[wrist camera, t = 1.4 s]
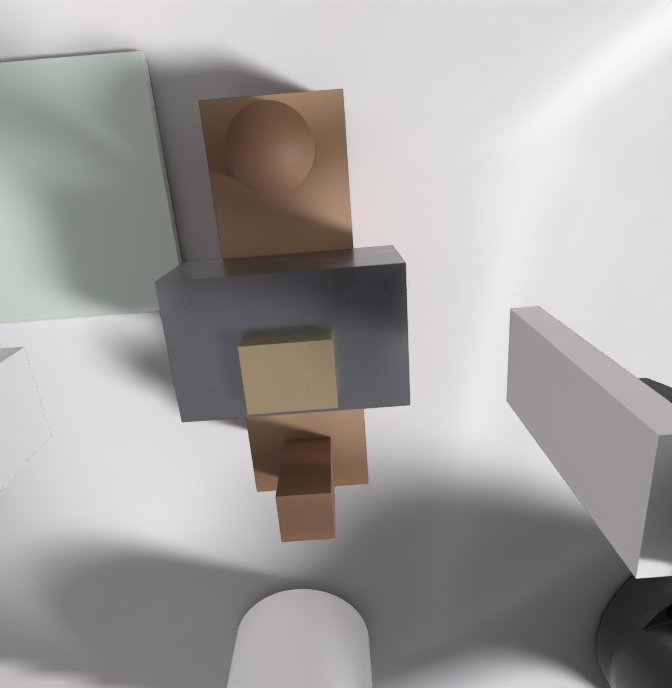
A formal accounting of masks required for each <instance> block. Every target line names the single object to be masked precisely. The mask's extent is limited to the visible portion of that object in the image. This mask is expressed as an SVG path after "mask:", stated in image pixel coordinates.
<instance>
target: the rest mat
mask: <svg viewBox="0 0 672 688" xmlns="http://www.w3.org/2000/svg"><path fill="white" fill-rule="evenodd" d="M181 263H182V258H181V253H180V247H179V241H178V236H177V230H176V224H175V218H174V213H173V207H172V201H171V196H170V190H169V184H168V179H167V173H166V167H165V162H164V156H163V150H162V144H161V139H160V133H159V127H158V122H157V116H156V110H155V105H154V99H153V93H152V87H151V82H150V76H149V70H148V65H147V59H146V53H144V52H142V51H131V52H119V53H107V54H95V55H83V56H71V57H59V58H47V59H35V60H23V61H11V62H0V324H2V323H15V322H28V321H41V320H54V319H67V318H79V317H92V316H105V315H118V314H131V313H144V312H157V311H160V309H159V303H158V298H157V293H156V288H155V283H154V282H156V281H157V280H158V279H160V278H161V277H163V276H164V275H165V274H167V273H168V272H170V271H171V270H172V269H174V268H175V267H177V266H178V265H179V264H181Z"/></svg>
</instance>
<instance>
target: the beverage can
mask: <svg viewBox="0 0 672 688" xmlns="http://www.w3.org/2000/svg"><path fill="white" fill-rule="evenodd" d="M227 688H373V684H372V672H371V660H370V648H369V637H368V631H367V627H366V625H365V622H364V620H363V619H362V617H361V616H360V614H359V613H358V612H357V611H356V610H355V609H354V608H353V607H352V606H351V605H350V604H349V603H347V602H346V601H344V600H343V599H341V598H339V597H337V596H335V595H332V594H330V593H327V592H323V591H319V590H312V589H293V590H287V591H282V592H278V593H275V594H273V595H270V596H268V597H266V598H264V599H262V600H261V601H259V602H258V603H256V604H255V605H254V606H253V607H252V608H251V609H250V610H249V611H248V612H247V613H246V615H245V616H244V617H243V619H242V621H241V623H240V625H239V628H238V632H237V637H236V642H235V647H234V653H233V658H232V663H231V668H230V673H229V679H228V684H227Z"/></svg>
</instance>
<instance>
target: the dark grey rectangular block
mask: <svg viewBox="0 0 672 688" xmlns="http://www.w3.org/2000/svg"><path fill="white" fill-rule="evenodd" d="M154 283H155V288H156V293H157V298H158V303H159V309H160V314H161V319H162V324H163V329H164V334H165V339H166V344H167V349H168V354H169V360H170V365H171V370H172V375H173V380H174V385H175V390H176V395H177V400H178V405H179V411H180V416H181V421H182V422H192V421H205V420H218V419H232V418H245V417H258V416H272V415H285V414H298V413H312V412H325V411H338V410H351V409H365V408H378V407H391V406H405V405H410V384H409V352H408V320H407V288H406V262H405V261H404V260H403V258H402V257H401V256H400V254H399V253H398V252H397V250H396V249H395V248H394V246H393V245H390V246H378V247H365V248H352V249H340V250H327V251H314V252H301V253H289V254H276V255H263V256H251V257H238V258H225V259H212V260H200V261H187V262H182V263H181V264H179V265H178V266H177V267H175V268H174V269H172V270H171V271H170V272H168V273H167V274H165V275H164V276H163V277H161V278H160V279H158V280H157V281H156V282H154Z"/></svg>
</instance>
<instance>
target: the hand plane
mask: <svg viewBox="0 0 672 688" xmlns="http://www.w3.org/2000/svg"><path fill="white" fill-rule="evenodd" d="M199 107H200V113H201V120H202V127H203V133H204V140H205V147H206V154H207V160H208V167H209V174H210V180H211V187H212V194H213V200H214V207H215V214H216V220H217V227H218V234H219V240H220V247H221V254H222V259H225V258H238V257H251V256H263V255H276V254H289V253H301V252H314V251H327V250H340V249H352V248H353V236H352V221H351V205H350V190H349V175H348V159H347V144H346V128H345V113H344V97H343V89H332V90H320V91H307V92H295V93H283V94H271V95H259V96H247V97H234V98H222V99H210V100H199ZM246 421H247V428H248V434H249V441H250V448H251V455H252V461H253V468H254V475H255V481H256V488H257V492H261V491H275V490H277V491H276V503H277V510H278V518H279V525H280V532H281V540H282V542H290V541H304V540H318V539H331V538H335V494H334V486H343V485H356V484H368V468H367V453H366V437H365V422H364V409H351V410H338V411H325V412H312V413H298V414H285V415H272V416H258V417H246Z"/></svg>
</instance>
